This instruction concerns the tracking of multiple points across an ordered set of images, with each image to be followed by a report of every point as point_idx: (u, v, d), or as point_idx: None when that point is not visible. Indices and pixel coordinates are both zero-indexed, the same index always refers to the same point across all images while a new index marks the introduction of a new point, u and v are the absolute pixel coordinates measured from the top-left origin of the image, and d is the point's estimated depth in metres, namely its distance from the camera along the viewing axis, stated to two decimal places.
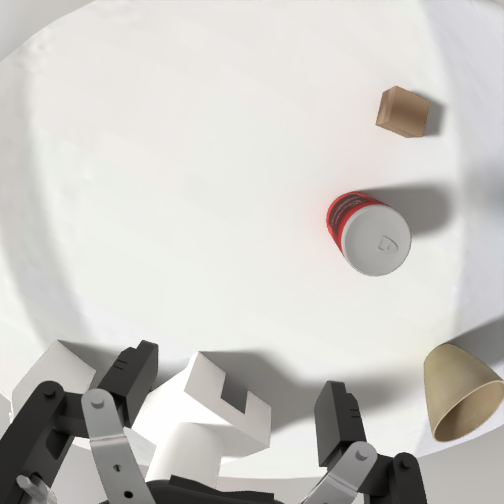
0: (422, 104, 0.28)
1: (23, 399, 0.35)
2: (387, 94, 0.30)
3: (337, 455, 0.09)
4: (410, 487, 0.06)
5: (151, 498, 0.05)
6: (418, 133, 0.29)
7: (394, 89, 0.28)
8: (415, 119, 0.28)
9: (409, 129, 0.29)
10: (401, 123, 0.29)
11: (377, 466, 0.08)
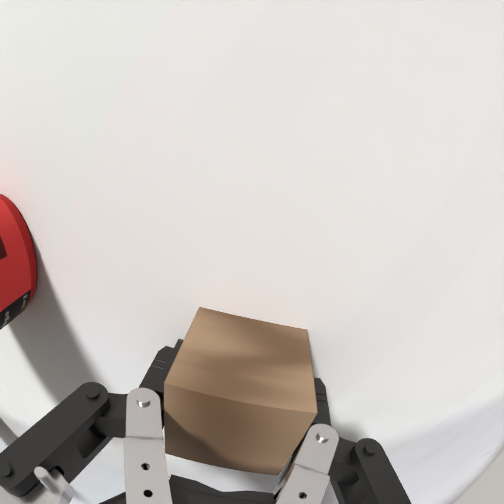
0: (263, 464, 0.10)
1: None
2: (293, 359, 0.11)
3: None
4: (380, 473, 0.07)
5: (170, 501, 0.05)
6: (168, 446, 0.10)
7: (302, 404, 0.09)
8: (208, 448, 0.09)
9: (167, 431, 0.09)
10: (176, 415, 0.09)
11: (340, 450, 0.08)
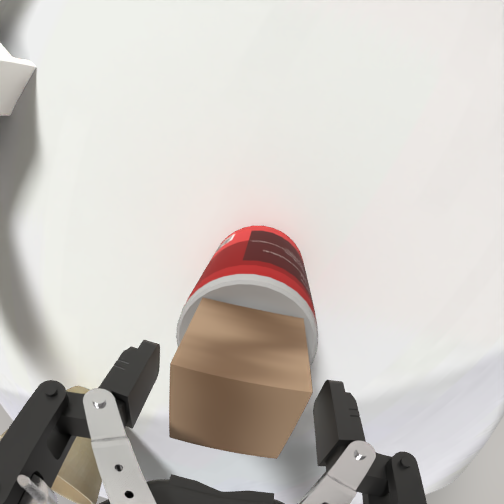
0: (262, 446, 0.10)
1: None
2: (290, 344, 0.12)
3: (336, 454, 0.09)
4: (409, 486, 0.06)
5: (152, 498, 0.05)
6: (172, 430, 0.11)
7: (298, 384, 0.09)
8: (211, 431, 0.10)
9: (172, 413, 0.10)
10: (180, 396, 0.10)
11: (376, 465, 0.08)
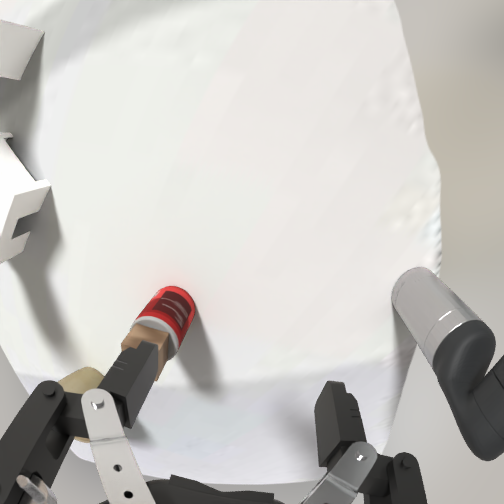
0: None
1: None
2: (158, 341, 0.36)
3: (337, 455, 0.09)
4: (410, 487, 0.06)
5: (151, 498, 0.05)
6: None
7: None
8: None
9: None
10: None
11: (377, 466, 0.08)
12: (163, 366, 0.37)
